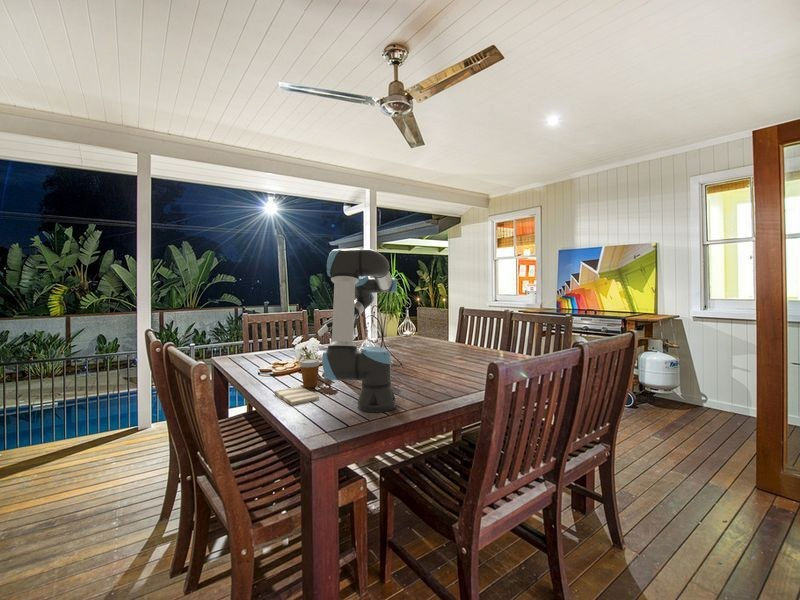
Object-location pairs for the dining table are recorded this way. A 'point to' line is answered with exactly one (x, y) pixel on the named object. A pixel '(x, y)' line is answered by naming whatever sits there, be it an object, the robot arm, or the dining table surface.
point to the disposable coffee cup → (309, 372)
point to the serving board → (296, 395)
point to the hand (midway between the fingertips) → (329, 334)
